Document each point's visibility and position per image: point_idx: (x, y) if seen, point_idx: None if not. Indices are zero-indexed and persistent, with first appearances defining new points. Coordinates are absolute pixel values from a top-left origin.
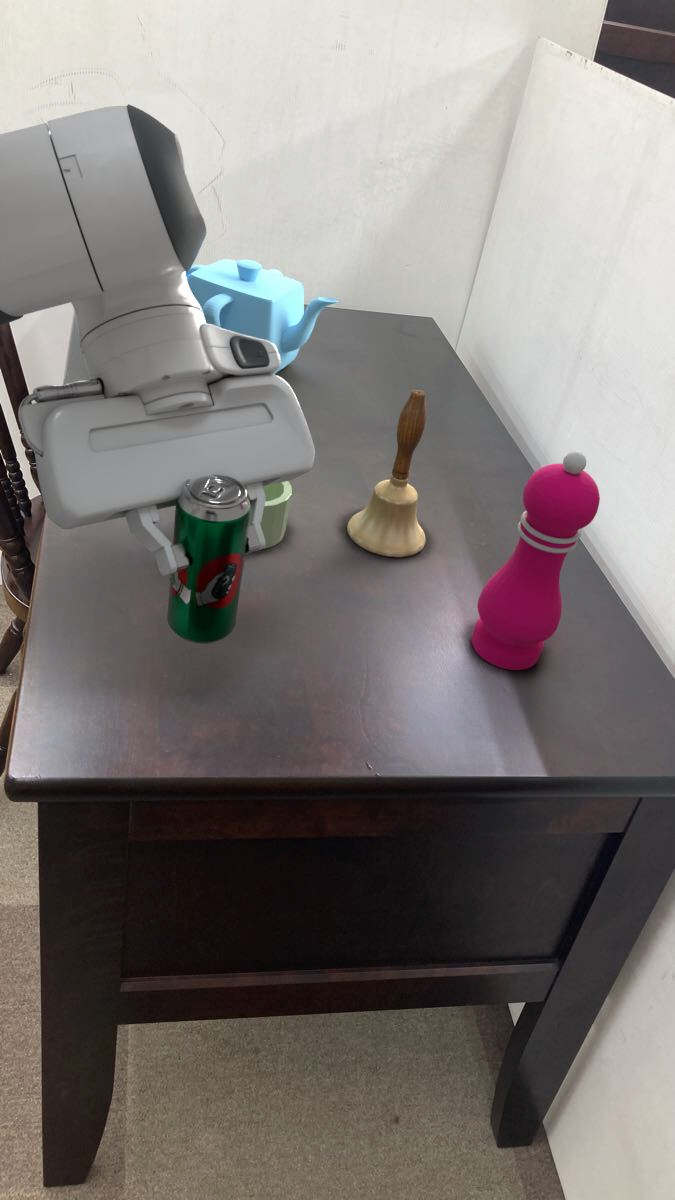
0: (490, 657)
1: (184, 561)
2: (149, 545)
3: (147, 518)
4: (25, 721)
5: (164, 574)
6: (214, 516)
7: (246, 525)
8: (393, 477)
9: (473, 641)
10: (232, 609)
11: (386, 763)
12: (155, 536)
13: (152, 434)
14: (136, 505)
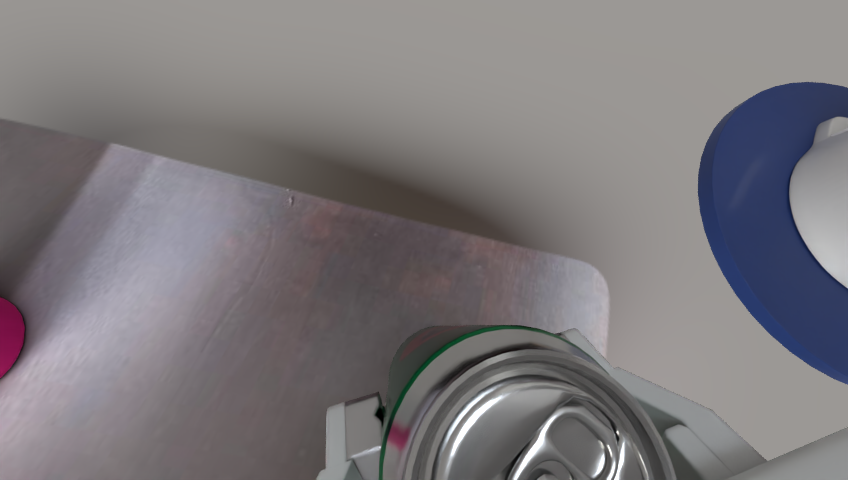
0: (12, 319)
1: None
2: None
3: (709, 433)
4: (605, 336)
5: None
6: (551, 340)
7: (412, 366)
8: None
9: (8, 360)
10: (411, 338)
11: (271, 199)
12: (651, 387)
13: None
14: (800, 452)
